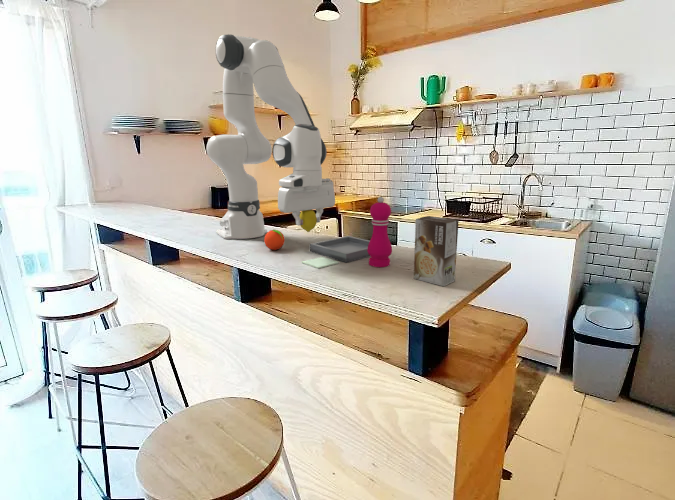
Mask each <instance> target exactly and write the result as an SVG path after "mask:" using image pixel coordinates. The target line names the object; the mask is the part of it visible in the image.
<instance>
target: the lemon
mask: <svg viewBox="0 0 675 500" xmlns="http://www.w3.org/2000/svg"><path fill="white" fill-rule="evenodd" d="M299 217H300V219H302V220H303V225H300V226H299V227H301V229H302V230H304V231H305V232H307V233H310V232H311V230H314V229H315V228H316V225H317V223H316V222H317V218H316V212H315V210H314V209H312V210H305V211H300V215H299Z"/></svg>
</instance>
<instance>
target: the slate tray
mask: <svg viewBox="0 0 675 500" xmlns="http://www.w3.org/2000/svg"><path fill="white" fill-rule="evenodd" d="M369 242H370V240H369V239H365V238H360V237H354V236H351V235H345V236H342V237H336V238H331V239H326V240H322V241H317V242H311V243H309V252H310V253H314V254H316V255H321V256H322V257H325V258H328V259H332V260H335V261H338V262H343V263H351V262H354V261H358V260H361V259H365V258H368V257H369V258H370V257H371V256H370V255H369V254H368V252H367V250H368V244H369Z"/></svg>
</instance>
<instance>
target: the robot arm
mask: <svg viewBox="0 0 675 500" xmlns="http://www.w3.org/2000/svg"><path fill="white" fill-rule="evenodd" d="M215 56H216V57H215V58H216V61H217V63H218V64H219V65H220V67H222V68H223V77H222V103H223V104H222V105H223V109H222V110H223V116H224V118H225V119H226V120H227V121H228V123H230V124H231V125H234V127H235V128H236V130H237V134H217V135H214V136H211V137H209V139H208V141H207V144H206V148H205V149H206V154H207V156H208V158H209V160H210V161H211V162H212V163H214V164H215V165H216V166H217V167H218V168H219V169H220V170H221V172H222V173H223V175H224V177H225V180H226V182H227V190H228V197H229V200H228V201H227V211H226V213H225V214H224V216H222V218H221V220H220V221H219V226H220V227H221V229H220V228H219V229H216V232H215V234H217V235H219V236H220V237H221V238H222V239H225V240H230V239H234V240H237V239H238V240H241V239H247V240H248V239H254V238H255V239H256V238H260V237H263V236H265V235H266V234H267V232H268V229H265V221H264V215H263V213H262V212H261V210H260V209H261V203H260V199H259V192H258V182H257V181H258V180H257V179H256V178H255V177H254V176H252V175H251V174H249V173H247V172H246V169H245V167H244V165H258V164H262V163H265V162H267V161H269V160H270V158H271V156H272V158H273V160H274V162H275V163H276V164H277V166H279V167H281V168H282V167H283V168H292V173H290V174H289V175H287V176H285V177H282V178H280V179H279V180H278V185H279V189H278V192H277V209H278V210H279V212H281V213H284V214H287V213H289V214H290V213H291V214H292V216H293V218H294V219H295V225H296V226H299V227H301V226H300V225H303V220H302V219H300V217H299V216H300V213H301V211H305V210H315V211H316V212H315V214H316V218H317V222H316V224H317V223H320V222H321V217H322V214H323V213H324V209H325V208H326V209H327V208H333V207H334V206H335V204H336V196H335V195H336V194H335V189H334V181H333V180H332V179H331V178H323V171H322V170H323V169H322V165H323V164H324V162H325V160H326V157H327V152H328V151H327V145H326V144H325V141H324V140H323V139H322V136H321V132H320V129H319V128H318V127H317V126H316V125H315V123H314V121H313V119H312V116H311V114H310V111H309V109H308V107H307V105H306V103H305V101H304V99H303V97H302V95H301V94H300V93H299V92H298V91H297V89H296V88H295V87H294V86H293V85H292V83H291V81H290V79H289V76H288V74H287V71H286V69H285V65H284V63H283V59H282V57H281V54H280V53H279V49H278V48H277V46H276V45H275V44H274V43H273V42H271V41H270V40H266V39H258V38H254V37H251V36H249V37H248V36H239V35H234V34H229V33H228V34H222V35H220V36H219V38H218V39H217V41H216V42H215ZM254 89H255V90H254ZM254 91H255V92H256V94H257V96H258V98H260V100H262V101H263V102H264V103H265V104H268V105H269V106H270V107H274V108H275V109H278V110H281V111H283V112H285V113H286V114H287V115H289V116H290V117H291V118H292V120H293V122H294V124H295V125H294V126H293V128H292V129H291V131H290V132H289V133H287V134H285V135H283V136H280V137H278V138H277V139H276V140H275V141H274V142H273V146H272V144H271V142H270V140H269V139H268V138H266V136H265V135H264V134H263V133H262V132H261V130H260V128H259V126H258V123H257V119H256V113H255V99H254V98H255V96H254V95H255V94H254Z"/></svg>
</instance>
